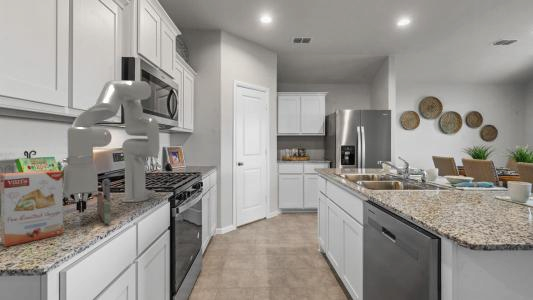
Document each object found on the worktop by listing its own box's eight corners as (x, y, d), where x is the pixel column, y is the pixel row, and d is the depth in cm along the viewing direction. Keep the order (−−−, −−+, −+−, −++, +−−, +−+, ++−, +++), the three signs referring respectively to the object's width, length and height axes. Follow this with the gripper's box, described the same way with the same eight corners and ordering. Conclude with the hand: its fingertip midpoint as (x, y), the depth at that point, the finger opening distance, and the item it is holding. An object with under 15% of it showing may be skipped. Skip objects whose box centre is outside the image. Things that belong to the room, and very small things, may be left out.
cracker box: (5, 248, 77) (3, 174, 76) (0, 243, 80) (-2, 173, 80) (64, 234, 88) (63, 170, 87) (58, 230, 91) (56, 169, 91)
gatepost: (109, 211, 116) (109, 178, 116) (111, 213, 114) (111, 178, 113) (101, 212, 114) (101, 178, 113) (103, 214, 112) (103, 179, 111)
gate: (97, 211, 112) (96, 194, 112) (102, 210, 113) (101, 193, 113) (104, 223, 96) (104, 203, 96) (110, 222, 97) (110, 203, 97)
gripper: (53, 162, 90) (54, 217, 90) (105, 161, 98) (106, 211, 99) (55, 161, 96) (56, 212, 96) (104, 160, 104) (104, 207, 105)
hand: (81, 211), depth 98 cm, fingers closed
